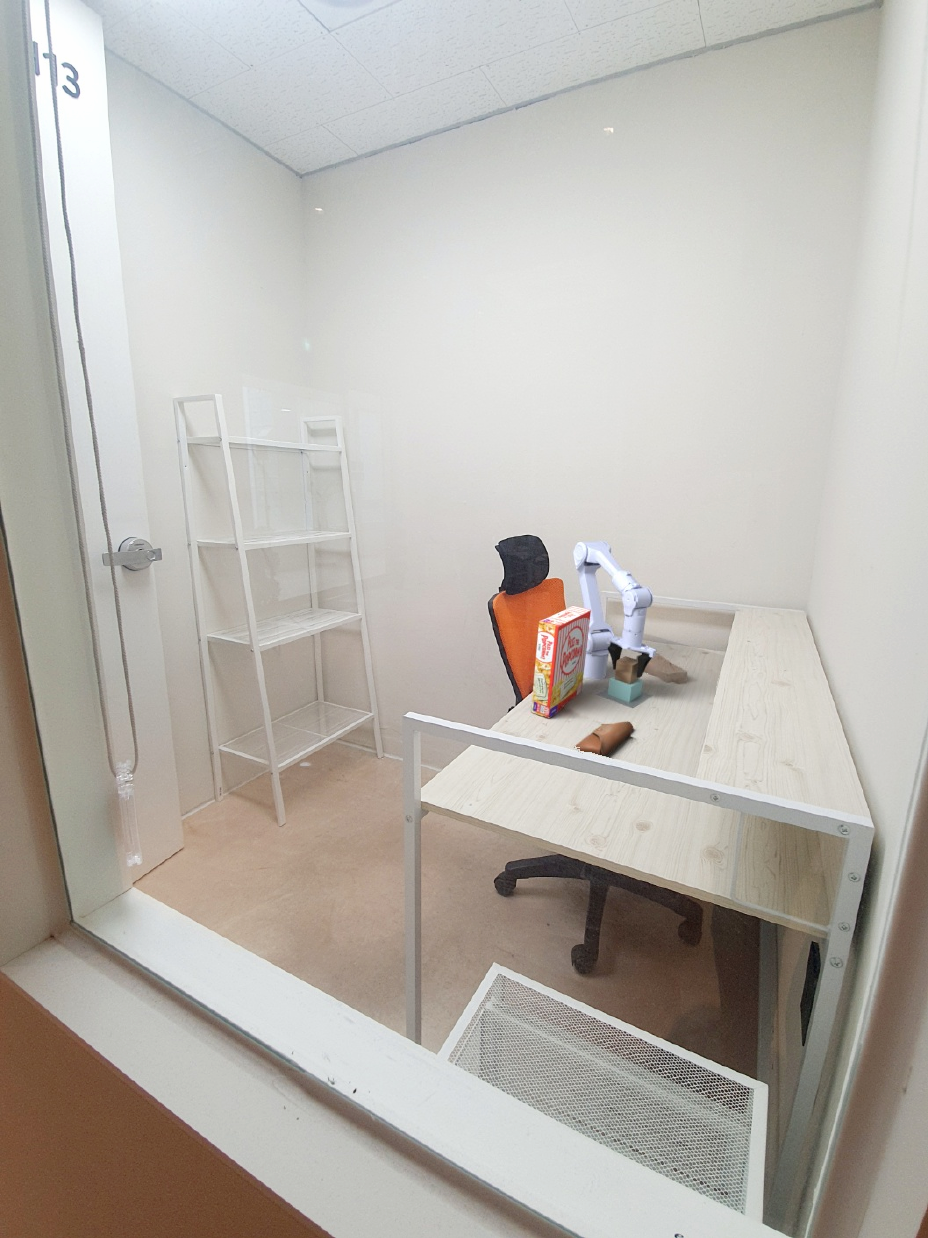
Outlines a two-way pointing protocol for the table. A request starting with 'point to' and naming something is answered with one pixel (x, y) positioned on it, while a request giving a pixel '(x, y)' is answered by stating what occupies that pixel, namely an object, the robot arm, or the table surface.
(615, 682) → the base brick
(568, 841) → the table surface
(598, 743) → the sunglasses case
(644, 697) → the baseplate
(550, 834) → the table surface
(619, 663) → the walnut block
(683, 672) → the brick
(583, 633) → the cardboard food box
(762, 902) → the table surface
